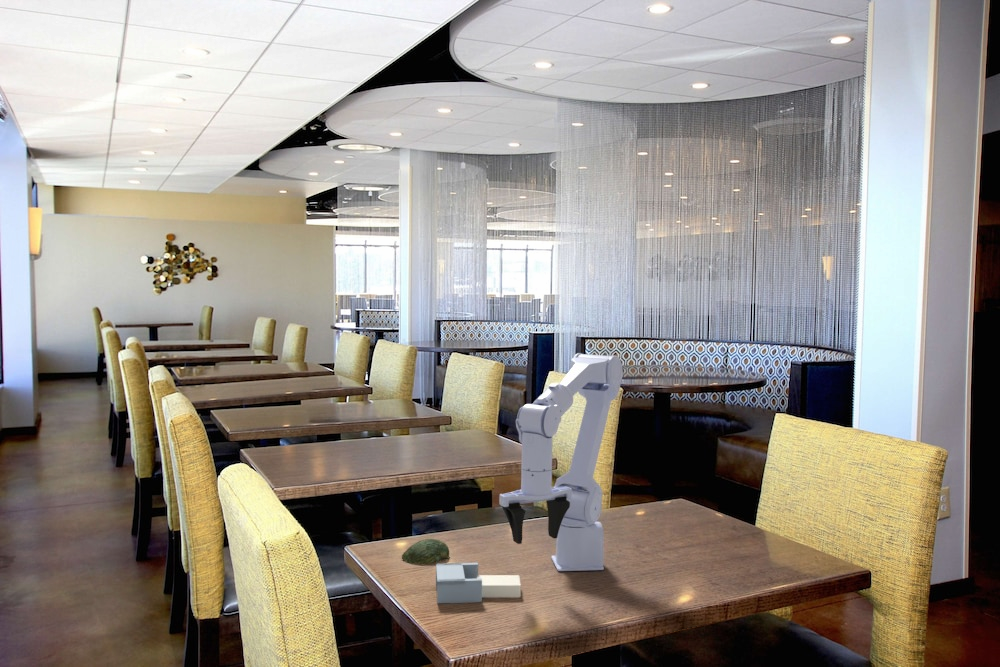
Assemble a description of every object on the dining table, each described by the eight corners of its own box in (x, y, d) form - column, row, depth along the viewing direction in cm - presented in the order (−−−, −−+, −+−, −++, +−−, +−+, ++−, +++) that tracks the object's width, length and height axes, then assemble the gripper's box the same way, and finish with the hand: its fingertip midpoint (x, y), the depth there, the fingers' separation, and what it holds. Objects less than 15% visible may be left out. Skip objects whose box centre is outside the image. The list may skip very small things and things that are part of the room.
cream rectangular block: (518, 588, 147) (519, 575, 147) (520, 599, 142) (520, 585, 142) (476, 588, 147) (476, 575, 147) (476, 599, 142) (477, 585, 142)
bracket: (477, 583, 149) (477, 562, 149) (481, 602, 140) (482, 580, 140) (435, 584, 148) (436, 563, 148) (437, 603, 139) (437, 581, 139)
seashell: (410, 529, 168) (454, 533, 166) (410, 547, 169) (454, 551, 167) (394, 547, 159) (441, 552, 157) (394, 566, 159) (441, 571, 157)
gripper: (559, 460, 152) (557, 528, 153) (492, 467, 145) (491, 538, 146) (578, 468, 146) (576, 539, 146) (509, 475, 139) (508, 549, 140)
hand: (535, 539), depth 146 cm, fingers open, 7 cm apart
